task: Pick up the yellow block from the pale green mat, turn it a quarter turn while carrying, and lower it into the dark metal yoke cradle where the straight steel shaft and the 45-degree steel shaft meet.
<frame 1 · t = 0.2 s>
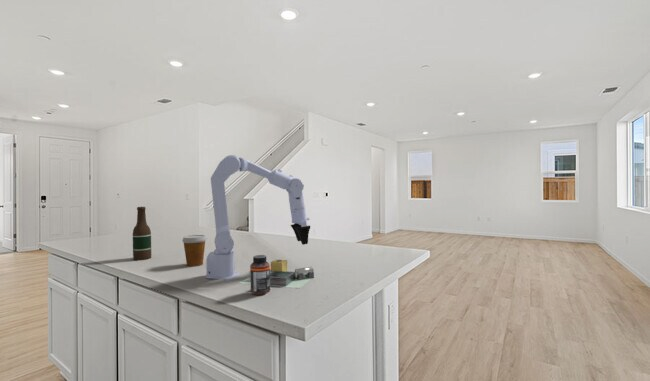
hand: (302, 242, 129), 10 cm above the counter, tool pointing down, fingers open, 7 cm apart
disposable coffee cup: (195, 265, 138), on the counter
yellow block: (279, 274, 119), resting on mat
mat: (278, 279, 114), on the counter
shaft b: (304, 278, 115), resting on mat
cradle: (280, 282, 111), resting on mat
shaft a: (260, 281, 113), resting on mat
supplement bottle: (260, 293, 101), on the counter
beer bottle: (142, 259, 151), on the counter
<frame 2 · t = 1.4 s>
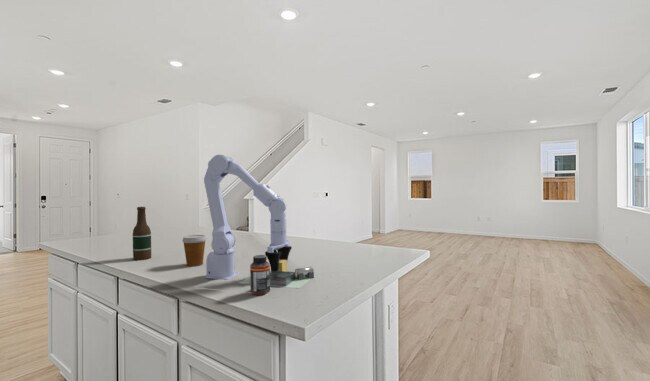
hand: (279, 268, 119), 3 cm above the counter, tool pointing down, fingers open, 7 cm apart
nothing on the counter moved.
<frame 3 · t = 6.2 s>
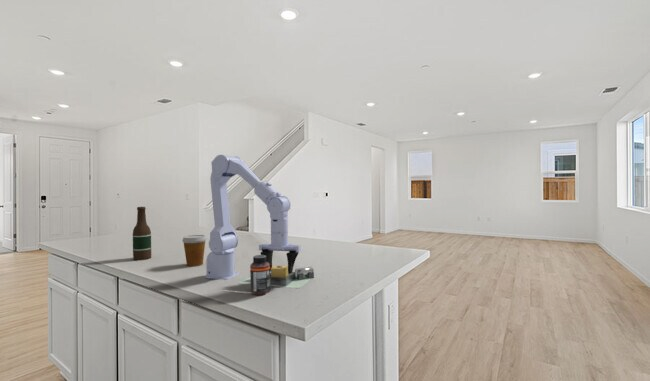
hand: (279, 272, 111), 4 cm above the counter, tool pointing down, fingers open, 7 cm apart
yellow block: (279, 281, 111), resting on mat
everything else where it was.
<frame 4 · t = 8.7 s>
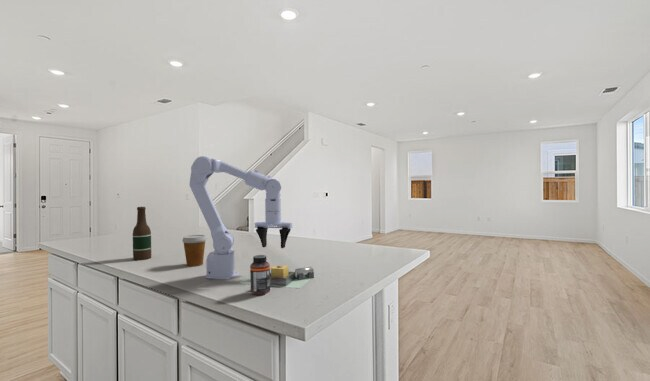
hand: (273, 247, 122), 10 cm above the counter, tool pointing down, fingers open, 7 cm apart
nothing on the counter moved.
at the end: yellow block 0.1 cm off-centre on the cradle, point 0.4 cm above the cradle's base; yellow block tilted 0°; the gripper is holding nothing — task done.
